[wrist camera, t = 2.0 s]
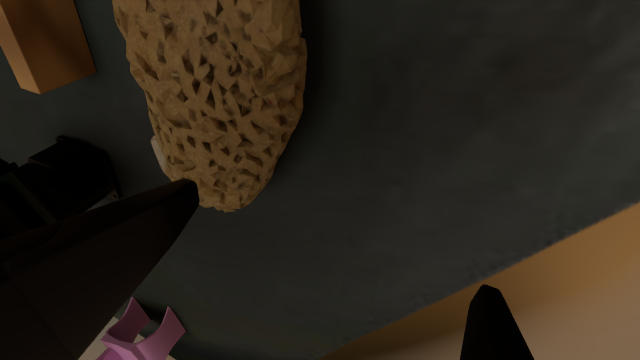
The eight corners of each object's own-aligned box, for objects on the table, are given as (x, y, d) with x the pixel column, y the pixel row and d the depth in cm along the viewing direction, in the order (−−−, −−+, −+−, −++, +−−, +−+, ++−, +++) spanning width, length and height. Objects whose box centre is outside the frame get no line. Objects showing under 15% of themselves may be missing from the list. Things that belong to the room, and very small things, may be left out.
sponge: (290, 181, 30) (408, -69, 14) (221, 242, 25) (278, -24, 9) (183, 87, 32) (178, -236, 15) (101, 128, 27) (-28, -267, 11)
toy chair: (190, 335, 56) (116, 438, 45) (152, 323, 60) (74, 416, 49) (169, 302, 52) (81, 408, 41) (128, 292, 55) (38, 386, 44)
